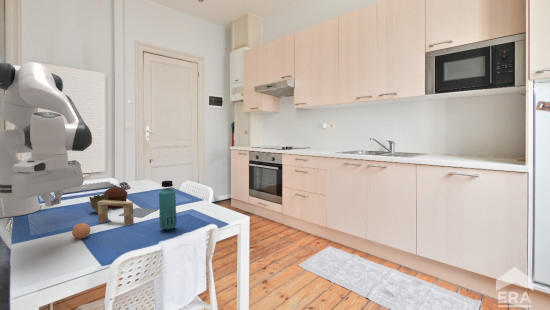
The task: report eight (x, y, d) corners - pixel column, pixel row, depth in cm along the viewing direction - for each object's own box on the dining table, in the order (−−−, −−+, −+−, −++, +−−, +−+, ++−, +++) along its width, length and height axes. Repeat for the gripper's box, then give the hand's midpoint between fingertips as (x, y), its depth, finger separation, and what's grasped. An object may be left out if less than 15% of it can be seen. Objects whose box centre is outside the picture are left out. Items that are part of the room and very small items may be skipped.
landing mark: (118, 215, 122) (118, 215, 122) (136, 208, 134) (136, 207, 134) (141, 217, 120) (141, 217, 120) (157, 209, 132) (157, 209, 132)
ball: (68, 240, 94) (67, 225, 94) (81, 234, 100) (81, 220, 99) (81, 241, 93) (80, 226, 93) (94, 235, 99) (93, 221, 98)
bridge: (128, 225, 110) (127, 203, 109) (98, 222, 112) (97, 201, 112) (133, 222, 113) (132, 201, 112) (104, 220, 115) (103, 199, 115)
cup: (99, 215, 122) (98, 198, 121) (86, 214, 123) (85, 197, 122) (112, 210, 129) (111, 194, 128) (99, 209, 130) (99, 193, 130)
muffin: (104, 204, 139) (104, 186, 138) (128, 202, 144) (128, 184, 143) (100, 211, 128) (100, 191, 127) (126, 208, 133) (126, 189, 132)
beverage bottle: (166, 234, 101) (165, 183, 99) (155, 230, 105) (154, 181, 103) (180, 229, 107) (179, 180, 105) (169, 225, 110) (168, 178, 108)
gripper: (72, 159, 95) (74, 196, 97) (5, 166, 75) (9, 213, 77) (87, 159, 94) (89, 197, 95) (23, 167, 74) (27, 215, 75)
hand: (53, 205), depth 86 cm, fingers closed
